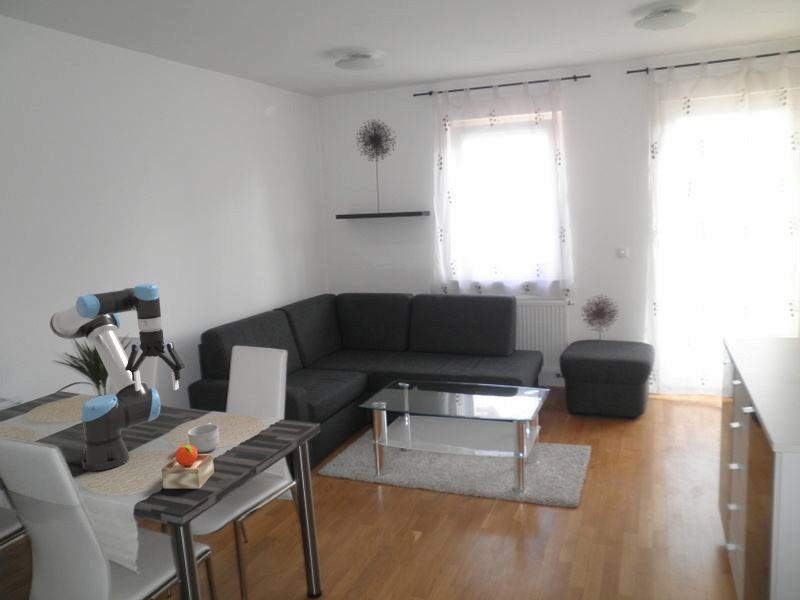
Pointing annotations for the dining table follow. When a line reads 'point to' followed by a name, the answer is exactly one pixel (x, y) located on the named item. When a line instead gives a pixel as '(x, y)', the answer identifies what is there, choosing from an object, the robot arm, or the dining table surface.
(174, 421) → the dining table surface
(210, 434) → the teacup
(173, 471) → the wooden box
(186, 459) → the tomato
